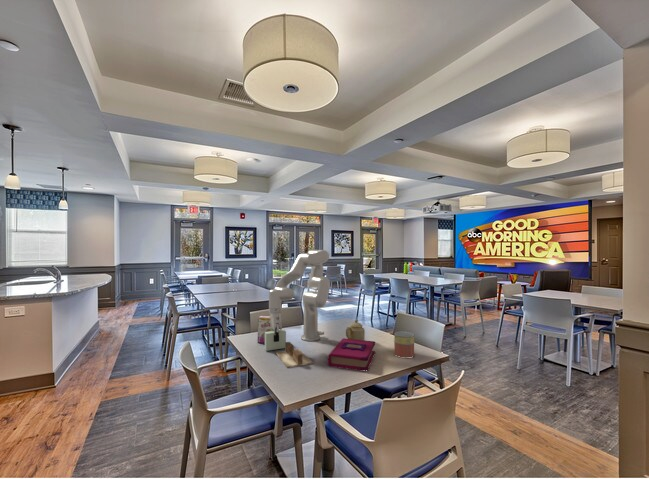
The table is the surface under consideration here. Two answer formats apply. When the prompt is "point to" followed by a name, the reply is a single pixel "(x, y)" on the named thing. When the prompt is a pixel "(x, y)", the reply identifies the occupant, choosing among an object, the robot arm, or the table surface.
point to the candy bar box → (263, 327)
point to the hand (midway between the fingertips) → (275, 340)
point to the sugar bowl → (355, 331)
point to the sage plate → (270, 340)
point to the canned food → (404, 344)
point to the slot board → (293, 357)
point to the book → (352, 354)
